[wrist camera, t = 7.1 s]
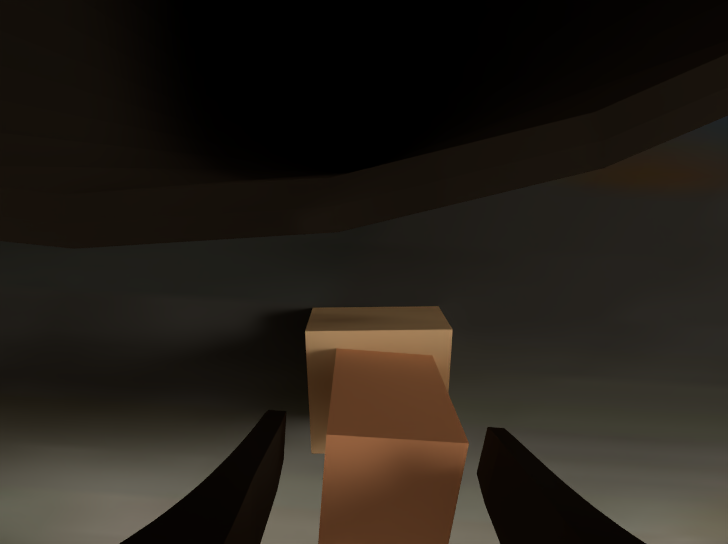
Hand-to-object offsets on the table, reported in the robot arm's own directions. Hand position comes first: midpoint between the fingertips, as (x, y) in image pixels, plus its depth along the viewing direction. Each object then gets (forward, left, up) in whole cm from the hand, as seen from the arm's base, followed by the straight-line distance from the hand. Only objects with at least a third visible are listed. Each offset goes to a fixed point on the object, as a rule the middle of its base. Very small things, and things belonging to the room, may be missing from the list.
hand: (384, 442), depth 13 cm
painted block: (0, 0, -3) cm, 3 cm away
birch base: (0, 0, -6) cm, 6 cm away
